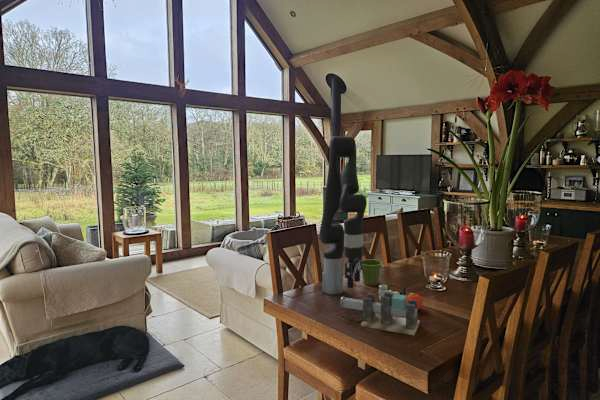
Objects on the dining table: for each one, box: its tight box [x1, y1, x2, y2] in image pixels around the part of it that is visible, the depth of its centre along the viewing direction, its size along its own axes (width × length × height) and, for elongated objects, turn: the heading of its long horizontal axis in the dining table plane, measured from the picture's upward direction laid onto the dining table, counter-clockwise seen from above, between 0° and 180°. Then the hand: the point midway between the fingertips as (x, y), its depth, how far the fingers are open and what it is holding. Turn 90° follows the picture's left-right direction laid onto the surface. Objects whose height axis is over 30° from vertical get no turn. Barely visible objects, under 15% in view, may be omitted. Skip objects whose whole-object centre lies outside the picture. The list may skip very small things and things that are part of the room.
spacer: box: [392, 294, 408, 310], centre depth 149 cm, size 4×5×4 cm
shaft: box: [339, 295, 418, 318], centre depth 153 cm, size 30×4×4 cm, turn 64°
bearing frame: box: [360, 292, 421, 336], centre depth 151 cm, size 20×12×12 cm, turn 64°
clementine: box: [406, 292, 424, 310], centre depth 166 cm, size 8×7×7 cm
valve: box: [378, 283, 407, 301], centre depth 177 cm, size 7×7×12 cm
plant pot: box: [361, 258, 383, 286], centre depth 200 cm, size 12×12×11 cm
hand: (353, 284), depth 157 cm, fingers open, 8 cm apart
